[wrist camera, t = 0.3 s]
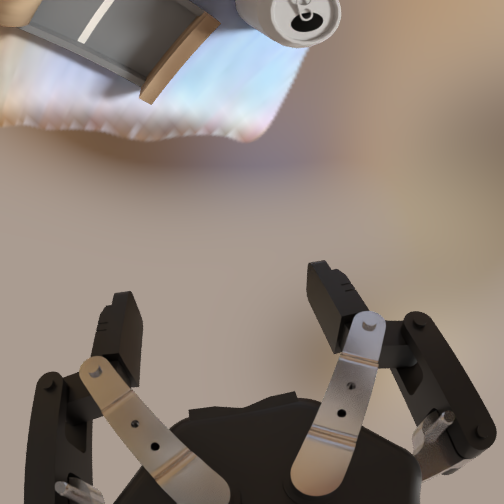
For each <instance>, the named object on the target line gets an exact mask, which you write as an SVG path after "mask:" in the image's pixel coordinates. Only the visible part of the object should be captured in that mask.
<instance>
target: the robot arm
mask: <svg viewBox="0 0 504 504" xmlns="http://www.w3.org/2000/svg"><path fill="white" fill-rule="evenodd" d="M306 290H307V297H308V301H309V303H310V305H311V307H312V309H313V311H314V313H315V315H316V317H317V320H318V322H319V324H320V326H321V328H322V330H323V332H324V334H325V336H326V338H327V340H328V343H329V345H330V347H331V349H332V351H333V353H334V354H336V353H340V352H342V354H340V357H339V360H338V362H337V365H336V368H335V370H334V373H333V375H332V378H331V381H330V383H329V386H328V388H327V391H326V393H325V396H324V398H323V401H322V403H321V402H319V401H316V400H312V399H305V398H297V396H296V393H295V391H294V392H290V393H285V394H281V395H276V396H271V397H268V398H266V399H263V400H261V401H259V402H257V403H254V404H252V405H250V406H247V407H244V408H231V407H216V406H214V407H207V408H200V409H191V410H189V417H188V418H185V419H183V420H181V421H179V422H178V423H176V424H175V425H173V426H172V427H171V428H170V429H168V428H167V427H166V426H165V425H164V424H163V423H162V422H161V421H160V420H159V419H158V418H157V417H156V416H155V415H154V413H153V412H152V411H151V410H150V409H149V408H148V407H147V406H146V405H145V403H144V402H143V401H142V400H141V399H140V398H139V397H138V395H137V394H136V393H135V392H134V391H133V390H131V387H139V379H140V361H141V347H142V335H143V321H142V317H141V315H140V312H139V309H138V307H137V304H136V302H135V299H134V296H133V294H132V292H131V291H127V292H120V293H115V294H114V297H113V301H112V305H109V306H106V307H105V308H104V310H103V311H102V312H101V314H100V317H99V321H98V325H97V330H96V331H97V332H96V334H95V339H94V343H93V348H92V353H91V358H89V359H87V360H86V361H85V362H84V363H83V364H82V365H81V367H80V370H79V372H77V373H75V374H72V375H69V376H67V377H64V378H62V376H61V375H60V374H59V373H57V372H48V373H46V374H44V375H43V376H42V377H41V378H40V379H39V381H38V382H37V385H36V390H35V395H34V401H33V407H32V413H31V419H30V426H29V434H28V443H27V452H26V464H25V483H24V504H105V502H104V498H103V495H102V494H101V492H100V491H99V490H98V489H97V488H95V487H93V481H92V480H93V479H92V423H93V422H92V421H93V419H96V418H99V417H101V416H104V417H105V418H106V419H107V421H108V422H109V424H110V425H111V427H112V428H113V429H114V431H115V432H116V433H117V435H118V436H119V437H120V438H121V440H122V441H123V442H124V444H125V445H126V446H127V447H128V448H129V450H130V451H131V452H132V453H133V455H134V456H135V457H136V458H137V459H138V461H139V462H140V463H141V464H142V466H141V467H140V469H139V470H138V471H137V473H136V474H135V475H134V477H133V478H132V479H131V481H130V482H129V483H128V485H127V486H126V488H125V489H124V490H123V491H122V493H121V494H120V495H119V497H118V498H117V499H116V501H115V502H114V503H113V504H420V489H421V483H423V482H426V481H428V480H430V479H432V478H434V477H436V476H438V475H440V474H442V475H449V474H452V473H454V472H455V471H457V470H458V469H460V468H461V467H463V466H464V465H466V464H467V463H468V462H470V461H471V460H473V459H474V458H476V457H477V456H478V455H480V454H481V453H482V452H484V451H485V450H486V449H488V448H489V447H490V446H491V445H492V444H493V443H494V441H495V439H496V434H497V431H496V426H495V424H494V422H493V420H492V418H491V417H490V414H489V412H488V410H487V409H486V407H485V405H484V403H483V401H482V399H481V398H480V396H479V394H478V392H477V391H476V389H475V387H474V386H473V384H472V382H471V381H470V379H469V377H468V375H467V374H466V372H465V370H464V368H463V367H462V365H461V364H460V362H459V360H458V359H457V357H456V355H455V354H454V352H453V351H452V349H451V348H450V346H449V344H448V343H447V341H446V340H445V338H444V337H443V335H442V334H441V332H440V331H439V329H438V328H437V326H436V325H435V323H434V322H433V321H432V319H431V318H430V317H429V316H428V315H427V314H425V313H422V312H418V311H414V312H410V313H408V314H407V315H406V316H405V318H404V320H403V321H386V320H384V318H383V317H382V316H381V315H379V314H378V313H375V312H372V311H369V309H368V308H367V306H366V305H365V303H364V301H363V300H362V298H361V297H360V295H359V294H358V292H357V291H356V290H355V288H354V286H353V285H352V284H351V282H350V281H349V279H348V278H347V276H346V275H345V274H344V273H342V272H341V271H339V270H338V269H334V270H331V268H330V267H329V265H328V264H327V262H326V261H325V260H322V261H317V262H311V263H309V264H308V270H307V288H306ZM378 368H390V370H391V371H392V374H393V376H394V378H395V380H396V382H397V384H398V386H399V389H400V391H401V392H402V395H403V397H404V399H405V401H406V404H407V406H408V408H409V410H410V412H411V415H412V417H413V419H414V421H415V424H416V426H417V428H416V429H415V431H414V433H413V436H412V442H413V448H414V450H413V455H412V454H411V453H410V452H409V451H407V450H406V449H404V448H402V447H400V446H398V445H396V444H394V443H392V442H390V441H389V440H387V439H385V438H383V437H381V436H379V435H378V434H376V433H374V432H372V431H370V430H369V429H367V428H365V427H363V426H362V422H363V420H364V416H365V413H366V410H367V406H368V403H369V399H370V396H371V392H372V389H373V385H374V382H375V377H376V374H377V370H378Z"/></svg>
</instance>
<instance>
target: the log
mask: <svg viewBox="0 0 504 504" xmlns="http://www.w3.org/2000/svg"><path fill="white" fill-rule="evenodd" d="M41 2H42V0H0V26H5V27H22V26H26V25H28V24H29V23H30V21H31V19H32V18H33V16H34V14H35V12H36V10H37V9H38V7H39V5H40V4H41Z"/></svg>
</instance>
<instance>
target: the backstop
mask: <svg viewBox="0 0 504 504" xmlns="http://www.w3.org/2000/svg"><path fill="white" fill-rule="evenodd" d="M220 24H221V23H220V22H219V21H218V20H216V19H215V18H214V17H213V16H211V15H210V14H208V13H207V12H206V11H205V12H204V13H203V14H202V15H201V16H200V17H199V16H197V17H196V18H195V20H194V21H193V22H192V23H191V24H190V25H189V26H188V27H187V28H186V29H185V31H184V32H183V33H182V34H181V35H180V36H179V37H178V39H177V40H176V41H175V42H174V43H173V44H172V46H171V47H170V48H169V49H168V50H167V52H166V53H165V54H164V55H163V57H162V58H161V59H160V60H159V62H158V63H157V64H156V65H155V67H154V68H153V69H152V71H151V72H150V73H149V75H148V76H147V77H146V81H145V83H144V84H143V86H142V87H141V91H140V95H139V98H140V99H142V100H143V101H145V102H147V103H149V104H151V105H152V104H153V102H154V101H155V100H156V98H157V97H158V96H159V94H160V93H161V92H162V90H163V89H164V88H165V87H166V85H167V84H168V83H169V82H170V80H171V79H172V78H173V77H174V75H175V74H176V73H177V72H178V71H179V69H180V68H181V67H182V66H183V65H184V63H185V62H186V61H187V60H188V59H189V58H190V56H191V55H192V54H193V53H194V52H195V51H196V50H197V49H198V47H199V46H200V45H201V44H202V43H203V42H204V41H205V40H206V39H207V38H208V37H209V36H210V34H211V33H212V32H213V31H214V30H215V29H216V28H217V27H218V26H219V25H220Z"/></svg>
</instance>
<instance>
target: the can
mask: <svg viewBox="0 0 504 504" xmlns="http://www.w3.org/2000/svg"><path fill="white" fill-rule="evenodd" d="M235 3H236V10H237V12H238V13H239V15H240V17H241V18H242V19H243V20H244V21H245V22H246V23H247V24H248V25H250V26H252V27H253V28H255V29H256V30H258V31H260V32H261V33H263V34H264V35H266V36H267V37H269V38H270V39H272V40H274V41H276V42H278V43H280V44H281V45H283V46H288V47H293V48H304V47H310V46H313V45H315V44H318V43H321V42H323V41H325V40H326V39H327V38H329V37H330V36H331V35H332V34H333V33H334V32H335V30H336V29H337V28H338V25H339V22H340V19H341V7H340V4H339V1H338V0H235Z"/></svg>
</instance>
